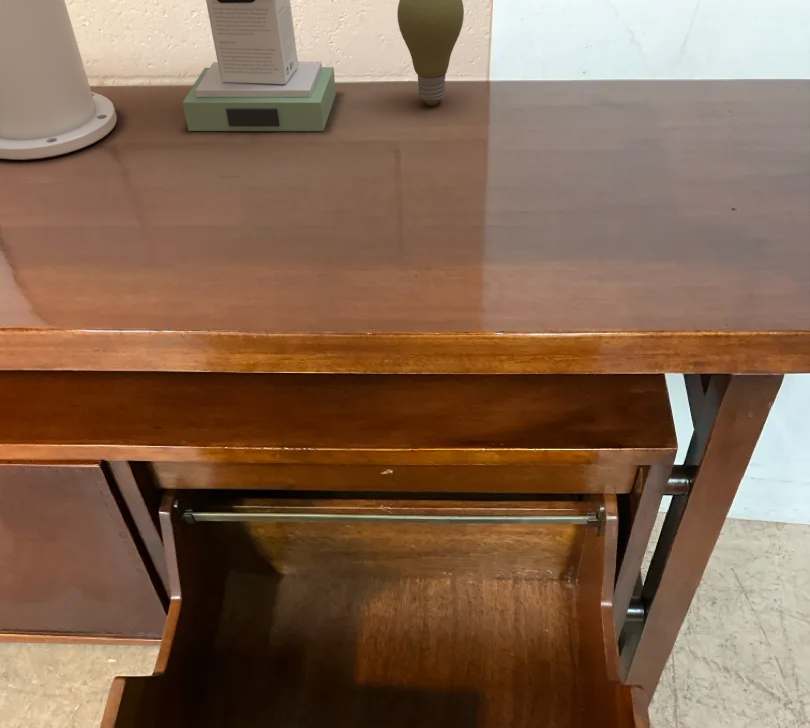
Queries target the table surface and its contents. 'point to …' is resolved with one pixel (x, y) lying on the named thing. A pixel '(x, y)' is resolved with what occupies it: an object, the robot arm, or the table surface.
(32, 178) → the table surface
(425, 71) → the light bulb
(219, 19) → the cosmetic box
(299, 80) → the scale
